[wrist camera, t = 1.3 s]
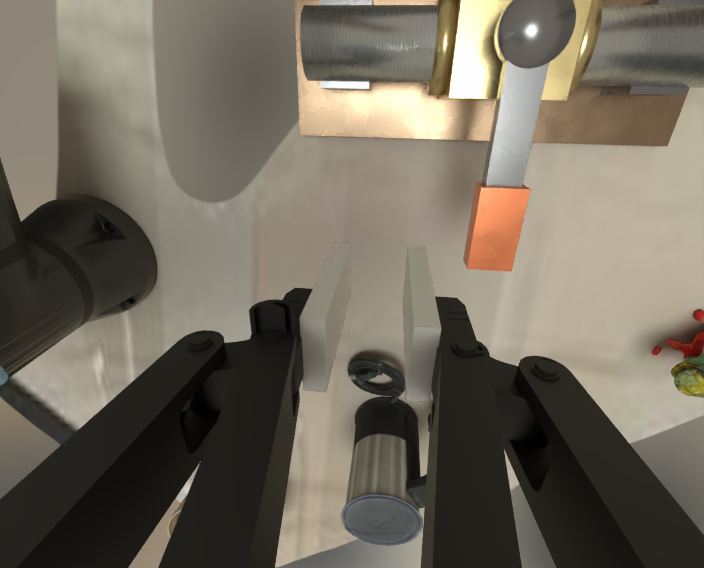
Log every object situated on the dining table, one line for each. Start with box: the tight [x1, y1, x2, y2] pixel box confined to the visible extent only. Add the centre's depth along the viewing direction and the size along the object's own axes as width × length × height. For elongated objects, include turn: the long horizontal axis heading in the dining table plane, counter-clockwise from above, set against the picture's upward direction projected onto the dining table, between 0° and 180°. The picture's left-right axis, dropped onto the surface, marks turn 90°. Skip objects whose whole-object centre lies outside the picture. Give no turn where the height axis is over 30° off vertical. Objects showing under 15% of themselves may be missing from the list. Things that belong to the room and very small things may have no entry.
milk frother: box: [341, 358, 431, 546], centre depth 46 cm, size 14×16×15 cm
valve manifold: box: [295, 0, 704, 146], centre depth 28 cm, size 34×14×12 cm, turn 89°
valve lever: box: [463, 0, 576, 271], centre depth 24 cm, size 17×4×2 cm, turn 179°
